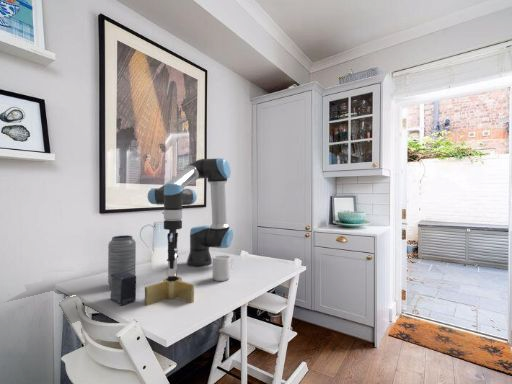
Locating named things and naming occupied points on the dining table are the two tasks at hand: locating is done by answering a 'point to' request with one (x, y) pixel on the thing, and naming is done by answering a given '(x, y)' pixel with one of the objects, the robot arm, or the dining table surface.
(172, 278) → the pin
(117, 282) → the small box
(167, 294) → the hinge
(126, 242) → the vase
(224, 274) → the mug
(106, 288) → the dining table surface
